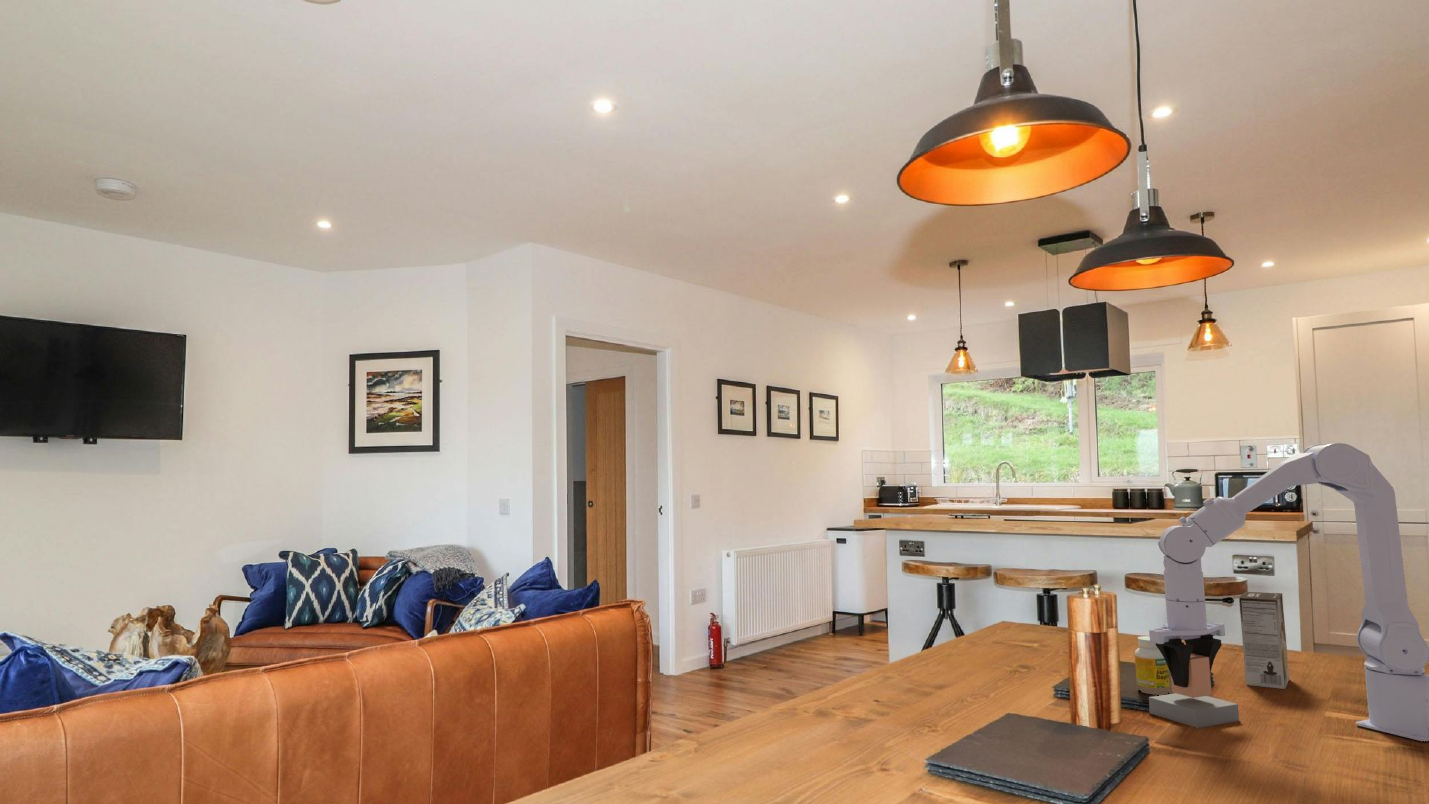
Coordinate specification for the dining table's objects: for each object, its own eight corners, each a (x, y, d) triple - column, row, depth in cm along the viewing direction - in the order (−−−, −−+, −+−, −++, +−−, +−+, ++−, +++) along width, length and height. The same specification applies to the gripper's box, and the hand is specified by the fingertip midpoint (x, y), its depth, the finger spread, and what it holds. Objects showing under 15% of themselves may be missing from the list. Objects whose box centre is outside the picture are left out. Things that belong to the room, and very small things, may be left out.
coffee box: (1250, 675, 164) (1243, 590, 165) (1290, 679, 160) (1283, 592, 161) (1245, 685, 156) (1238, 596, 158) (1286, 689, 152) (1279, 599, 154)
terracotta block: (1211, 695, 137) (1208, 657, 137) (1193, 697, 135) (1190, 659, 136) (1189, 689, 141) (1187, 652, 141) (1172, 692, 139) (1169, 654, 140)
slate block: (1239, 723, 135) (1238, 704, 135) (1197, 730, 132) (1196, 710, 132) (1190, 709, 143) (1189, 691, 144) (1149, 715, 140) (1148, 697, 140)
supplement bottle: (1147, 687, 157) (1143, 634, 158) (1176, 692, 152) (1172, 638, 153) (1131, 691, 154) (1127, 637, 155) (1160, 697, 149) (1156, 642, 150)
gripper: (1195, 593, 146) (1201, 674, 144) (1131, 599, 140) (1137, 684, 139) (1233, 598, 139) (1240, 683, 138) (1168, 605, 134) (1174, 693, 133)
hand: (1191, 684), depth 138 cm, fingers closed on terracotta block, 4 cm apart
